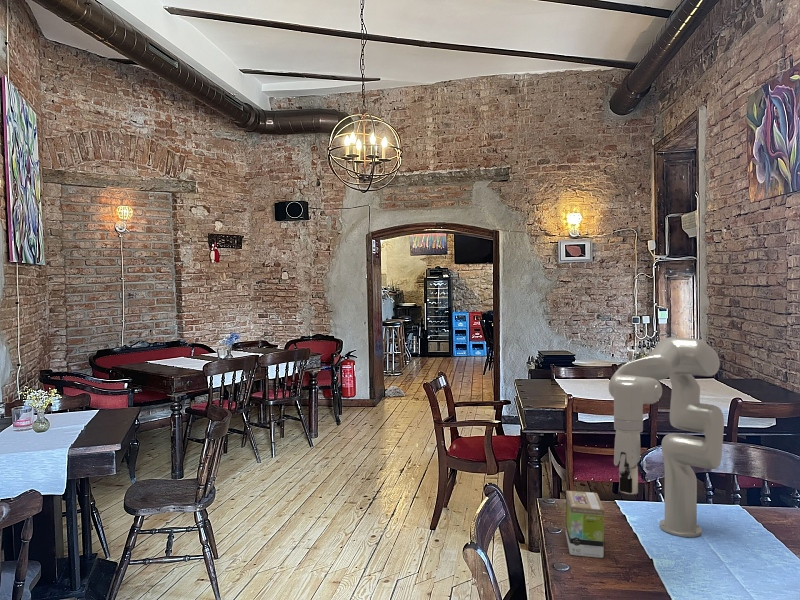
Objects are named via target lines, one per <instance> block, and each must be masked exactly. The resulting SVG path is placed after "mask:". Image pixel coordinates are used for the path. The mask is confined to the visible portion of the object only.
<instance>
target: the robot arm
mask: <svg viewBox="0 0 800 600" xmlns="http://www.w3.org/2000/svg"><path fill="white" fill-rule="evenodd" d="M720 364H721V363H720V358H719V355H718V353H717V352H716V350H715V349H713V348H712V347H711V346H710V345H709V344H708V343H707V342H705V341H704V340H702V339H699V338H692V337H691V338H690V337H670V336H669V337H666V338H663V339H661V340H660V341H659V342H658V343H657V344H656V345H655V347H654V348H653V349H652V350H651V351H650V352H649V354H647V356H645V357H641V358H638V359H635V360H632V361H629V362H627V363H624V364H623V365H621V366H620V367H619V368H617V370H615V372H614V374H613V375H611V378H610V379H609V382H608V392H609V394H610V396H611V397H612V398H613V429H614V430H615V437H614V450H613V451H614V453H613V464H614V466H615V467H618V466H619V467H618V472H620V475H619V474H618V475H619V476H620V490H619V492H621V491H622V492H627V493H632V478H631V468H632V467H634V466H635V465H636V466H637V467H638V463H639V462H640V460H641V433H642V432H643V431H644V405H653V404H655V403H657V402H659V400H660V399H661V397H662V395H663V386H662V384H661V383H660V381H662V380H666V379H668V378H669V381H670V383H671V394H670V395H671V396H670V405H669V423H670V425H671V427H674V428H675V429H678V430H682V431H688V432H693V433H700V434H703V435H704V437H703V436H702V437H701V436H697V435H696V436H695V435H690V434H684V433H678V432H677V433H676V432H674V433H673V432H672V433H667V434H666V435H665V436H664V437H663V438H662V440H661V452H662V458H663V465H664V466H663V467H664V519H662V520H660V521H659V528H660V529H661V530H662V531H664V532H666V533H667V534H670V535H674V536H678V537H683V538H696V537H699V536H701V535H702V534H703V529H702V527H701V526H700V525H698V524H697V523H698V522H697V521H698V519H697V516H698V515H697V512H698V511H697V510H698V509H697V508H698V507H697V506H698V505H697V504H698V503H697V502H698V501H697V499H698V493H697V490H698V487H697V485H698V484H697V483H698V482H697V481H698V480H697V476H696V473H695V472H694V470H693V468H692V467H696V468H700V469H707V470H716V469H718V468H719V466H721V462H722V457H723V455H722V454H723V445H724V444H723V442H724V430H725V429H724V428H725V419H724V418H725V417H724V413H723V410H722V409H721V408H720V407H719V406H717V405H714V404H711V403H710V404H708V403H703V402H702V403H701V401H700V399H701V387H700V385H699V383H698V381H697V380H696V378H695V377H694V376H701V377H702V376H703V377H712V376H714V375H716V374H717V373H718V371H719V369H720ZM693 375H694V376H693ZM626 464H627V465H629V466H628V467H626V466H625V465H626ZM691 466H692V467H691ZM626 469H628V472H627V471H626ZM622 492H621V493H622Z"/></svg>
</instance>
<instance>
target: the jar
mask: <svg viewBox="0 0 800 600" xmlns="http://www.w3.org/2000/svg"><path fill="white" fill-rule="evenodd" d="M625 466H626V467H628V466H629V465H627V464H626V465H625ZM638 468H639V467H638V465H637V466H636V465H635V466H634V467H632V468H631V478H632V493H627V492H622V491H620V476H619V479H618V481H619V485H618V487H619V488H618V489H619V491H620V493H623V494H626V495H637V494H639V469H638ZM626 471H627V472H628V469H626ZM618 472H619V471H618ZM618 475H620V472H619V473H618Z"/></svg>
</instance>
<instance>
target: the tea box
mask: <svg viewBox="0 0 800 600" xmlns="http://www.w3.org/2000/svg"><path fill="white" fill-rule="evenodd" d="M565 493H566V494H565V536H566V537H565V538H566V541H567V547H568V551H569V555H572V556H576V557H577V556H578V557H588V558H589V557H590V558H599V559H600V558H604V555H605V553H604V550H605V548H604V546H605V545H604V543H605V540H604V538H605V536H604V535H605V509H604V506H603V502H601V498H600V497H599V494H598V493H597V492H588V491H578V490H576V491H575V490H566V491H565Z"/></svg>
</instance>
